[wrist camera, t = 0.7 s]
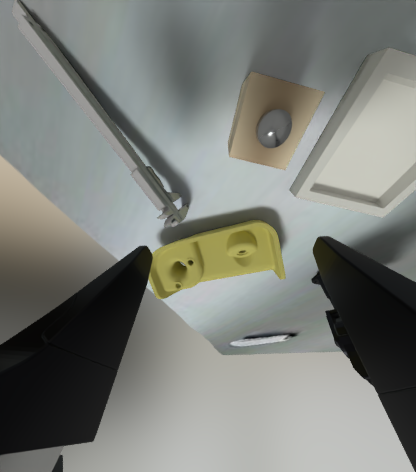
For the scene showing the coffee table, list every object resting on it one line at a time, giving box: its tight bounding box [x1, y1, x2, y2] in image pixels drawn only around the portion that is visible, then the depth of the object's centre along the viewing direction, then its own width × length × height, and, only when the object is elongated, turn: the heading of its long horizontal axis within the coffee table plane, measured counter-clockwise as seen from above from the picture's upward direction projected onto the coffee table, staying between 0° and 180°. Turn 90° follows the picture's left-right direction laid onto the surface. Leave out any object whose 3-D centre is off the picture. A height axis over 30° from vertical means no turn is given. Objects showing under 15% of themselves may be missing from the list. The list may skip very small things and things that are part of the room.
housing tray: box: [290, 47, 416, 218], centre depth 15 cm, size 11×11×2 cm
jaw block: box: [228, 72, 325, 170], centre depth 12 cm, size 4×4×7 cm
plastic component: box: [148, 220, 285, 299], centre depth 25 cm, size 20×7×10 cm
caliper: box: [12, 0, 189, 227], centre depth 14 cm, size 20×1×6 cm, turn 35°
